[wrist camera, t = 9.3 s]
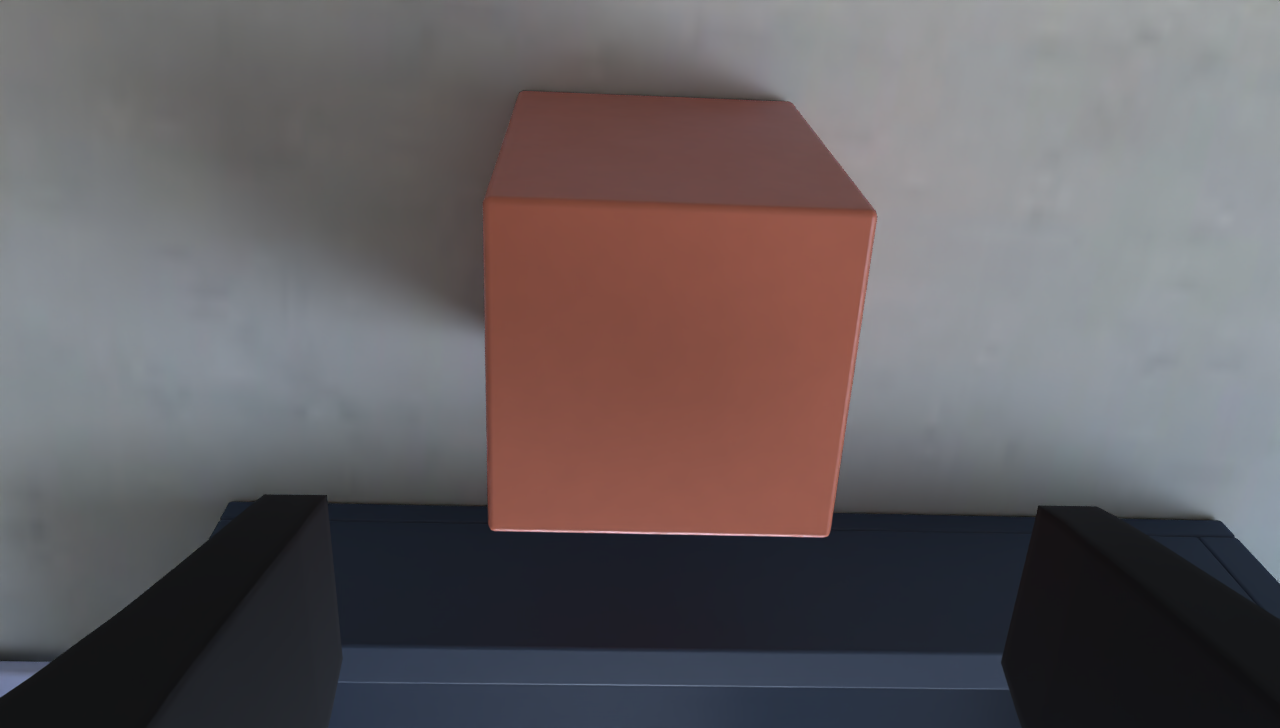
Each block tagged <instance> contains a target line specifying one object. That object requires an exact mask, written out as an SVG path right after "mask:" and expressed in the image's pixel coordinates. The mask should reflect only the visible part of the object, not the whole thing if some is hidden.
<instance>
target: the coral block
mask: <svg viewBox="0 0 1280 728" xmlns="http://www.w3.org/2000/svg"><path fill="white" fill-rule="evenodd" d="M876 222H877V214H876V211H875V210H874V208H873V207H872V206H871V204H870V203H869V202H868V200H867V199H866V198H865V197H864V195H863V194H862V193H861V191H860V190H859V189H858V188H857V186H856V185H855V184H854V182H853V181H852V180H851V178H850V177H849V176H848V175H847V173H846V172H845V171H844V169H843V168H842V167H841V166H840V164H839V163H838V162H837V160H836V159H835V158H834V156H833V155H832V154H831V153H830V151H829V150H828V149H827V147H826V146H825V145H824V144H823V142H822V141H821V140H820V138H819V137H818V136H817V134H816V133H815V132H814V131H813V129H812V128H811V127H810V125H809V124H808V123H807V122H806V120H805V119H804V118H803V116H802V115H801V114H800V112H799V111H798V110H797V109H796V107H795V106H794V105H793V103H791V102H786V101H761V100H737V99H712V98H688V97H663V96H638V95H614V94H589V93H565V92H540V91H522V92H519V95H518V97H517V100H516V103H515V106H514V109H513V113H512V116H511V119H510V122H509V125H508V128H507V131H506V134H505V137H504V140H503V143H502V146H501V149H500V152H499V155H498V158H497V161H496V164H495V167H494V170H493V173H492V176H491V179H490V182H489V185H488V188H487V191H486V194H485V197H484V200H483V256H484V316H485V376H486V436H487V496H488V525H489V527H490V529H491V530H493V531H513V532H564V533H616V534H668V535H719V536H771V537H823V538H824V537H827V536H828V535H829V534H830V531H831V525H832V518H833V511H834V504H835V498H836V491H837V484H838V478H839V471H840V464H841V457H842V451H843V444H844V437H845V431H846V424H847V417H848V410H849V404H850V397H851V390H852V384H853V377H854V370H855V363H856V357H857V350H858V343H859V337H860V330H861V323H862V316H863V310H864V303H865V296H866V290H867V283H868V276H869V269H870V263H871V256H872V249H873V243H874V236H875V229H876Z"/></svg>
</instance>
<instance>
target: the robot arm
mask: <svg viewBox="0 0 1280 728" xmlns="http://www.w3.org/2000/svg"><path fill="white" fill-rule="evenodd" d="M342 660H343V656H342V646H341V636H340V625H339V615H338V605H337V594H336V584H335V574H334V564H333V553H332V543H331V533H330V523H329V512H328V502H327V495H267V494H265V495H263V496H262V497H261V498H259V499H258V500H257V501H255V502H254V503H253V504H251V505H250V506H249V507H248V508H246V509H245V510H244V511H243V512H242V513H240V514H239V515H238V516H237V517H235V518H234V519H233V520H232V521H231V522H229V523H228V524H227V525H226V526H225V527H223V528H222V529H221V530H220V531H219V532H217V533H216V534H215V535H214V536H213V537H211V538H210V539H209V540H208V541H207V542H205V543H204V544H203V545H202V546H201V547H199V548H198V549H197V550H196V551H195V552H193V553H192V554H191V555H190V556H189V557H187V558H186V559H185V560H184V561H183V562H181V563H180V564H179V565H178V566H176V567H175V568H174V569H173V570H171V571H170V572H169V573H168V574H166V575H165V576H164V577H163V578H161V579H160V580H159V581H158V582H156V583H155V584H154V585H153V586H152V587H150V588H149V589H148V590H147V591H145V592H144V593H143V594H142V595H140V596H139V597H138V598H137V599H135V600H134V601H133V602H132V603H130V604H129V605H128V606H127V607H125V608H124V609H123V610H121V611H120V612H119V613H117V614H116V615H115V616H113V617H112V618H111V619H109V620H108V621H107V622H105V623H104V624H102V625H101V626H100V627H98V628H97V629H96V630H94V631H93V632H91V633H90V634H89V635H87V636H86V637H85V638H83V639H82V640H81V641H79V642H78V643H76V644H75V645H74V646H72V647H71V648H70V649H68V650H67V651H65V652H64V653H63V654H61V655H60V656H59V657H57V658H56V659H55V660H53V661H52V662H29V661H0V728H328V726H329V722H330V718H331V713H332V709H333V704H334V699H335V694H336V689H337V684H338V679H339V674H340V670H341V665H342ZM1001 665H1002V668H1003V671H1004V674H1005V678H1006V681H1007V684H1008V687H1009V690H1010V694H1011V697H1012V700H1013V703H1014V706H1015V710H1016V713H1017V715H1018V718H1019V721H1020V724H1021V727H1022V728H1280V619H1279V618H1277V617H1275V616H1274V615H1272V614H1271V613H1269V612H1267V611H1266V610H1264V609H1263V608H1261V607H1260V606H1258V605H1256V604H1255V603H1253V602H1252V601H1250V600H1248V599H1247V598H1245V597H1244V596H1242V595H1241V594H1239V593H1237V592H1236V591H1234V590H1233V589H1231V588H1230V587H1228V586H1226V585H1225V584H1223V583H1222V582H1220V581H1219V580H1217V579H1216V578H1214V577H1212V576H1211V575H1209V574H1208V573H1206V572H1205V571H1203V570H1201V569H1200V568H1198V567H1197V566H1195V565H1194V564H1192V563H1191V562H1189V561H1187V560H1186V559H1184V558H1183V557H1181V556H1180V555H1178V554H1177V553H1175V552H1173V551H1172V550H1170V549H1169V548H1167V547H1166V546H1164V545H1162V544H1161V543H1159V542H1157V541H1156V540H1154V539H1153V538H1151V537H1149V536H1148V535H1146V534H1145V533H1143V532H1141V531H1140V530H1138V529H1136V528H1135V527H1133V526H1131V525H1130V524H1128V523H1126V522H1125V521H1123V520H1121V519H1119V518H1118V517H1116V516H1114V515H1112V514H1110V513H1108V512H1106V511H1104V510H1102V509H1101V508H1099V507H1096V506H1038V510H1037V514H1036V518H1035V522H1034V526H1033V530H1032V535H1031V539H1030V543H1029V547H1028V551H1027V556H1026V560H1025V564H1024V568H1023V572H1022V576H1021V581H1020V585H1019V589H1018V593H1017V597H1016V601H1015V606H1014V610H1013V614H1012V618H1011V622H1010V627H1009V631H1008V635H1007V639H1006V643H1005V647H1004V652H1003V656H1002V660H1001Z"/></svg>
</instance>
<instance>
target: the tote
mask: <svg viewBox="0 0 1280 728" xmlns="http://www.w3.org/2000/svg"><path fill="white" fill-rule="evenodd" d="M253 503H254V502H230V503H228V505H227V507H226V509H225V511H224V512H223V514H222V516H221V518H220V520H221V521H219V522H218V524H217V526H216V528H215V529H214V531H213V533H212V535H211V536H210V538H211V537H213V536H214V535H215V534H216V533H217V532H219V531H220V530H221V529H222V528H223V527H225V526H226V525H227V524H228V523H229V522H231V521H232V520H233V519H234V518H235V517H237V516H238V515H239V514H240V513H242V512H243V511H244V510H245V509H246V508H248V507H249V506H250V505H251V504H253ZM328 512H329V523H330V533H331V543H332V553H333V564H334V574H335V584H336V594H337V605H338V615H339V625H340V636H341V646H342V656H343V660H342V665H341V670H340V674H339V679H338V684H337V689H336V694H335V699H334V704H333V709H332V713H331V718H330V722H329V726H328V728H1022V727H1021V724H1020V721H1019V718H1018V715H1017V713H1016V710H1015V706H1014V703H1013V700H1012V697H1011V694H1010V690H1009V687H1008V684H1007V681H1006V678H1005V674H1004V671H1003V668H1002V665H1001V660H1002V656H1003V652H1004V647H1005V643H1006V639H1007V635H1008V631H1009V627H1010V622H1011V618H1012V614H1013V610H1014V606H1015V601H1016V597H1017V593H1018V589H1019V585H1020V581H1021V576H1022V572H1023V568H1024V564H1025V560H1026V556H1027V551H1028V547H1029V543H1030V539H1031V535H1032V530H1033V526H1034V522H1035V518H1036V517H1005V516H953V515H901V514H849V513H833V518H832V525H831V531H830V534H829V535H828V536H827V537H824V538H823V537H771V536H719V535H668V534H616V533H564V532H513V531H493V530H491V529H490V527H489V525H488V507H485V506H433V505H381V504H330V503H328ZM1121 520H1123V521H1125V522H1126V523H1128V524H1130V525H1131V526H1133V527H1135V528H1136V529H1138V530H1140V531H1141V532H1143V533H1145V534H1146V535H1148V536H1149V537H1151V538H1153V539H1154V540H1156V541H1157V542H1159V543H1161V544H1162V545H1164V546H1166V547H1167V548H1169V549H1170V550H1172V551H1173V552H1175V553H1177V554H1178V555H1180V556H1181V557H1183V558H1184V559H1186V560H1187V561H1189V562H1191V563H1192V564H1194V565H1195V566H1197V567H1198V568H1200V569H1201V570H1203V571H1205V572H1206V573H1208V574H1209V575H1211V576H1212V577H1214V578H1216V579H1217V580H1219V581H1220V582H1222V583H1223V584H1225V585H1226V586H1228V587H1230V588H1231V589H1233V590H1234V591H1236V592H1237V593H1239V594H1241V595H1242V596H1244V597H1245V598H1247V599H1248V600H1250V601H1252V602H1253V603H1255V604H1256V605H1258V606H1260V607H1261V608H1263V609H1264V610H1266V611H1267V612H1269V613H1271V614H1272V615H1274V616H1275V617H1277V618H1279V619H1280V584H1279V583H1278V582H1277V580H1276V579H1275V578H1274V577H1273V576H1272V575H1271V574H1270V573H1269V572H1268V571H1267V570H1266V569H1265V568H1264V567H1263V565H1262V564H1261V563H1260V562H1259V561H1258V560H1257V559H1256V558H1255V557H1254V556H1253V555H1252V554H1251V553H1250V552H1249V550H1248V549H1247V548H1246V547H1245V546H1244V545H1243V544H1242V543H1241V542H1240V541H1239V540H1238V539H1236V538H1235V536H1234V535H1233V533H1232V532H1231V531H1230V530H1229V529H1228V528H1227V527H1226V526H1225V525H1224V524H1223V523H1222V522H1221V521H1213V520H1161V519H1121ZM210 538H209V539H210Z"/></svg>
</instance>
